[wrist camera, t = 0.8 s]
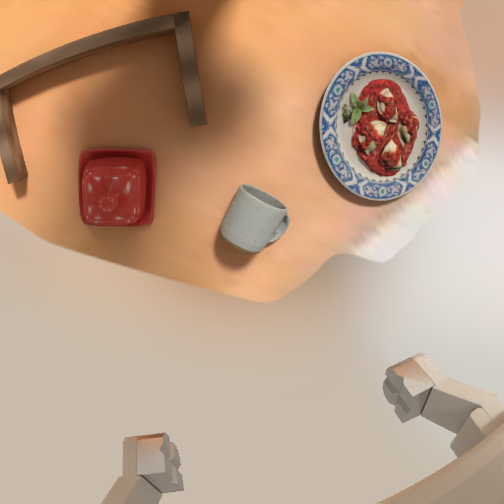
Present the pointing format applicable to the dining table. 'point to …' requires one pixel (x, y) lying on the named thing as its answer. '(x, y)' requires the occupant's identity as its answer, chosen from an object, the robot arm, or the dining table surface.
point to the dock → (3, 124)
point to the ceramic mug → (254, 220)
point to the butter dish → (117, 187)
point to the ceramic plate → (380, 126)
